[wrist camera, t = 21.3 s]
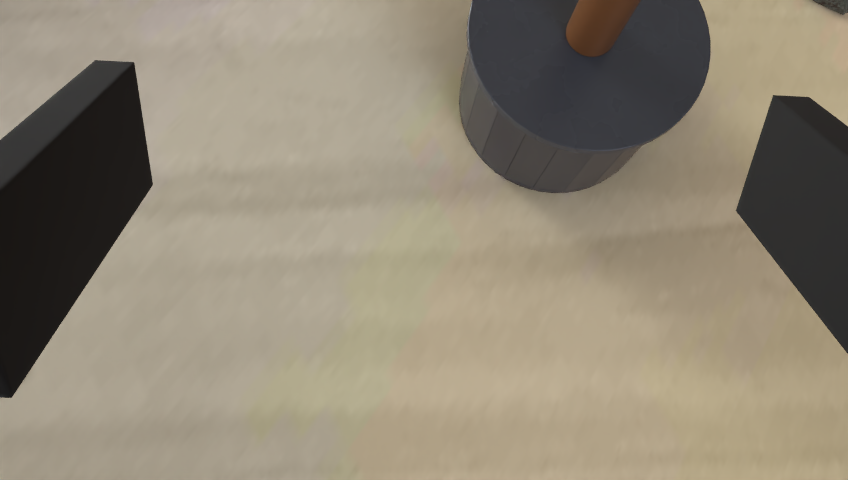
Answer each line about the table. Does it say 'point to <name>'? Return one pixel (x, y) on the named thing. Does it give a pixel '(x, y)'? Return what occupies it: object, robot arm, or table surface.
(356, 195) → the table surface
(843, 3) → the sword in stone
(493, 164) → the tin
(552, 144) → the lid
